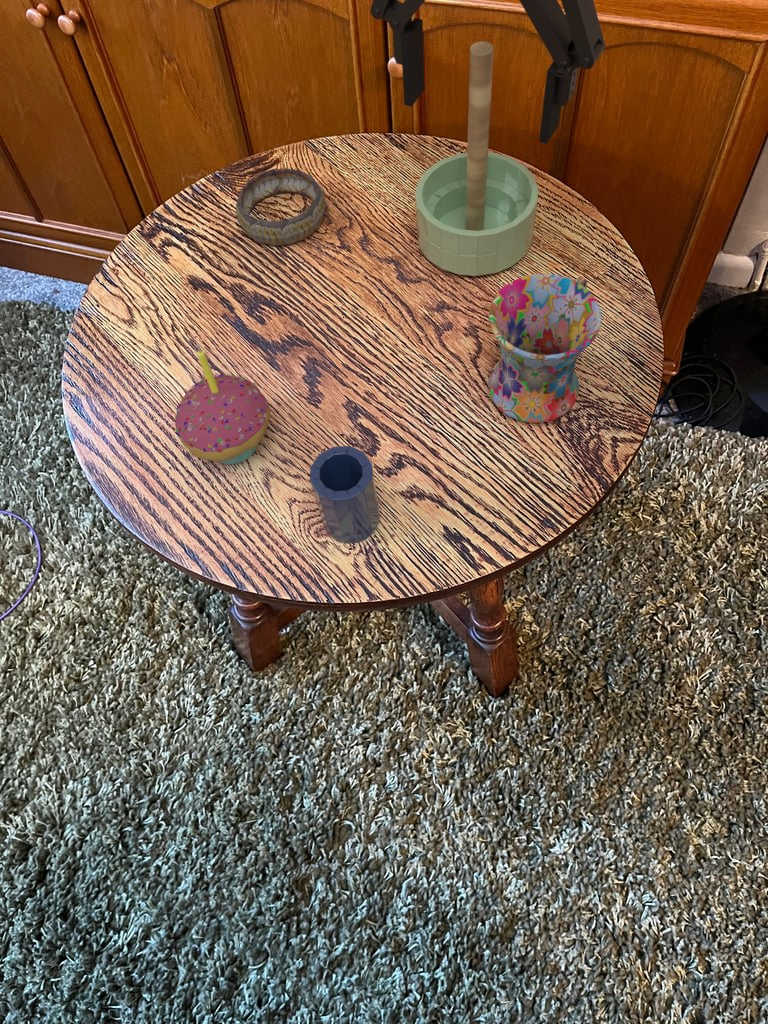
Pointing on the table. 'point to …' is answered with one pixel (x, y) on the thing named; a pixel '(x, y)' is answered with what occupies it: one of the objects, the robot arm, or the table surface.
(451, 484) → the table surface
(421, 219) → the bowl
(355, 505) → the holder
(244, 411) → the cupcake
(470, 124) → the stick
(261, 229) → the decorative ring
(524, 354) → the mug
